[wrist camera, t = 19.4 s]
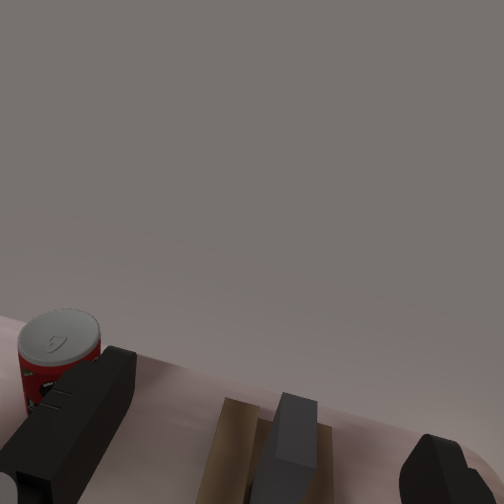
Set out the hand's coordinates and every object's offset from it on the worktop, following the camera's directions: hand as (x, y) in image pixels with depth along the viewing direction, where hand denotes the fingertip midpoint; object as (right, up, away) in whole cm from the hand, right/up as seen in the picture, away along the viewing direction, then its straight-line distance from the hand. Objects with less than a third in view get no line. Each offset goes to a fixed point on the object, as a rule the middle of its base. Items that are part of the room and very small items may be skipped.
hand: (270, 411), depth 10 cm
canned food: (-23, -14, +34) cm, 43 cm away
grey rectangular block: (0, -21, +26) cm, 33 cm away
